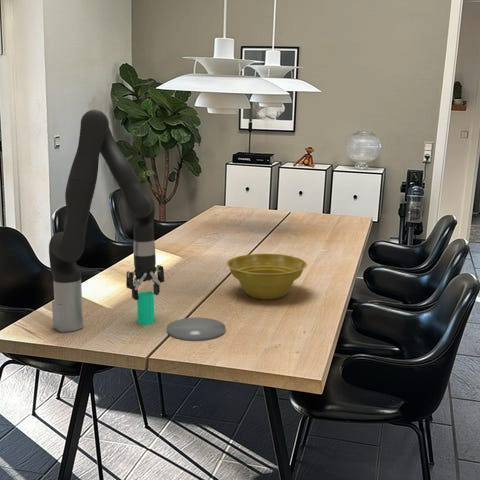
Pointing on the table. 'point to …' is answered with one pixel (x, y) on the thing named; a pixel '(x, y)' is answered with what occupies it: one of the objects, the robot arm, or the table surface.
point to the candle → (145, 307)
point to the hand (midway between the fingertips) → (146, 297)
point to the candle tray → (196, 329)
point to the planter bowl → (266, 273)
